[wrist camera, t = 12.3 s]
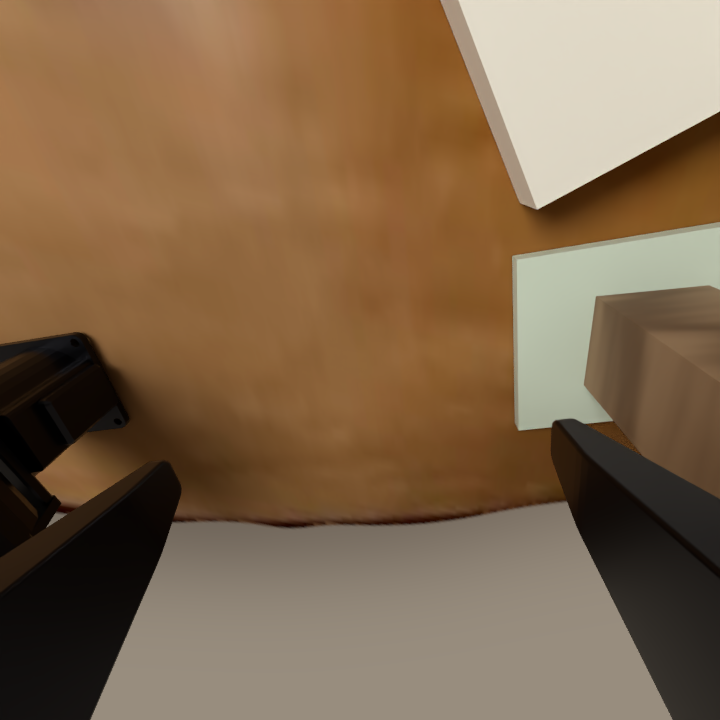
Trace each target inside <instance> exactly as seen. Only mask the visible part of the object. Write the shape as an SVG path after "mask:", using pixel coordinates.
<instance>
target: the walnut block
mask: <svg viewBox="0 0 720 720" xmlns="http://www.w3.org/2000/svg"><path fill="white" fill-rule="evenodd" d="M584 386H585V387H586V388H587V390H588V391H589V392H590V393H591V394H592V396H593V397H594V398H595V399H596V400H597V402H598V403H599V404H600V405H601V406H602V408H603V409H604V410H605V411H606V412H607V414H608V415H609V416H610V417H611V418H612V420H613V421H614V422H615V423H616V424H617V426H618V427H619V428H620V429H621V430H622V432H623V433H624V434H625V435H626V437H627V438H628V439H629V440H630V441H631V443H632V444H633V445H634V446H635V447H636V449H637V450H638V451H639V452H640V453H641V455H642V456H643V457H645V458H647V459H649V460H651V461H652V462H654V463H656V464H658V465H660V466H661V467H663V468H665V469H667V470H669V471H670V472H672V473H674V474H676V475H678V476H680V477H681V478H683V479H685V480H687V481H689V482H690V483H692V484H694V485H696V486H698V487H699V488H701V489H703V490H705V491H707V492H709V493H710V494H712V495H714V496H716V497H718V498H719V499H720V290H719V289H717V288H715V287H712V286H710V285H706V286H696V287H686V288H676V289H665V290H655V291H645V292H635V293H624V294H614V295H604V296H596V299H595V307H594V314H593V321H592V328H591V336H590V343H589V350H588V357H587V365H586V372H585V379H584Z"/></svg>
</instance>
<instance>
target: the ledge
mask: <svg viewBox="0 0 720 720" xmlns="http://www.w3.org/2000/svg"><path fill="white" fill-rule="evenodd" d="M440 1H441V3H442V6H443V8H444V11H445V13H446V16H447V19H448V21H449V24H450V26H451V29H452V31H453V34H454V36H455V39H456V41H457V44H458V47H459V49H460V52H461V54H462V57H463V59H464V62H465V64H466V67H467V70H468V72H469V75H470V77H471V80H472V82H473V85H474V87H475V90H476V93H477V95H478V98H479V100H480V103H481V105H482V108H483V110H484V113H485V116H486V118H487V121H488V123H489V126H490V128H491V131H492V133H493V136H494V138H495V141H496V144H497V146H498V149H499V151H500V154H501V156H502V159H503V161H504V164H505V167H506V169H507V172H508V174H509V177H510V179H511V182H512V184H513V187H514V190H515V192H516V195H517V197H518V200H519V202H520V203H521V204H524V205H526V206H529V207H532V208H534V209H537V210H538V209H540V208H541V207H543V206H545V205H547V204H549V203H551V202H553V201H554V200H556V199H558V198H560V197H562V196H564V195H566V194H567V193H569V192H571V191H573V190H575V189H577V188H579V187H580V186H582V185H584V184H586V183H588V182H590V181H591V180H593V179H595V178H597V177H599V176H601V175H603V174H604V173H606V172H608V171H610V170H612V169H614V168H616V167H617V166H619V165H621V164H623V163H625V162H627V161H629V160H630V159H632V158H634V157H636V156H638V155H640V154H642V153H643V152H645V151H647V150H649V149H651V148H653V147H655V146H656V145H658V144H660V143H662V142H664V141H666V140H668V139H669V138H671V137H673V136H675V135H677V134H679V133H681V132H682V131H684V130H686V129H688V128H690V127H692V126H694V125H695V124H697V123H699V122H701V121H703V120H705V119H707V118H708V117H710V116H712V115H714V114H716V113H718V112H720V0H440Z"/></svg>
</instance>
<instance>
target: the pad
mask: <svg viewBox="0 0 720 720" xmlns="http://www.w3.org/2000/svg"><path fill="white" fill-rule="evenodd" d="M512 272H513V336H514V399H515V424H516V426H517V428H518V430H529V429H538V428H548V427H552V423H553V421H555V420H559V419H568V418H573V419H576V420H578V421H580V422H582V423H584V424H587V423H597V422H607V421H613V420H612V418H611V417H610V416H609V415H608V414H607V412H606V411H605V410H604V409H603V408H602V406H601V405H600V404H599V403H598V402H597V400H596V399H595V398H594V397H593V396H592V394H591V393H590V392H589V391H588V390H587V388H586V387H585V386H584V379H585V372H586V365H587V357H588V350H589V343H590V336H591V328H592V321H593V314H594V307H595V299H596V296H604V295H614V294H624V293H635V292H645V291H655V290H665V289H676V288H686V287H696V286H706V285H710V286H712V287H715V288H717V289H719V290H720V222H718V223H712V224H705V225H699V226H693V227H687V228H681V229H675V230H668V231H662V232H656V233H650V234H644V235H638V236H632V237H625V238H619V239H613V240H607V241H601V242H595V243H589V244H582V245H576V246H570V247H564V248H558V249H552V250H546V251H539V252H533V253H527V254H521V255H515V256H512Z"/></svg>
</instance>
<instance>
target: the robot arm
mask: <svg viewBox="0 0 720 720" xmlns="http://www.w3.org/2000/svg"><path fill="white" fill-rule="evenodd" d="M75 340H77V341H78V342H79V343H77V342H76V341H75ZM119 419H120V420H121V421H120V420H119ZM128 422H129V417H128V415H127V413H126V411H125V409H124V407H123V406H122V404H121V402H120V400H119V398H118V396H117V394H116V392H115V390H114V389H113V387H112V385H111V383H110V381H109V379H108V377H107V375H106V374H105V372H104V370H103V368H102V366H101V364H100V362H99V360H98V359H97V357H96V355H95V353H94V351H93V349H92V347H91V345H90V343H89V342H88V340H87V338H86V337H85V336H84V335H83V334H81V333H79V332H74V333H68V334H62V335H55V336H49V337H43V338H37V339H30V340H24V341H18V342H12V343H5V344H0V720H90V719H91V717H92V715H93V712H94V710H95V708H96V705H97V703H98V701H99V699H100V696H101V694H102V692H103V689H104V687H105V684H106V682H107V680H108V677H109V675H110V673H111V671H112V668H113V666H114V664H115V661H116V659H117V657H118V654H119V652H120V650H121V647H122V645H123V643H124V641H125V638H126V636H127V633H128V631H129V629H130V626H131V624H132V622H133V620H134V617H135V615H136V613H137V610H138V608H139V606H140V603H141V601H142V599H143V596H144V594H145V592H146V589H147V587H148V585H149V582H150V580H151V578H152V575H153V573H154V571H155V569H156V566H157V564H158V561H159V559H160V557H161V554H162V551H163V548H164V546H165V542H166V539H167V536H168V533H169V530H170V527H171V524H172V521H173V518H174V515H175V512H176V509H177V506H178V502H179V499H180V496H181V484H180V482H179V480H178V478H177V476H176V474H175V472H174V470H173V468H172V466H171V464H170V463H169V462H168V461H166V460H159V461H151V462H149V463H147V464H145V465H144V466H142V467H141V468H139V469H137V470H136V471H134V472H133V473H131V474H130V475H128V476H127V477H125V478H123V479H122V480H120V481H119V482H117V483H116V484H114V485H113V486H111V487H109V488H108V489H106V490H105V491H103V492H102V493H100V494H99V495H97V496H95V497H94V498H92V499H91V500H89V501H88V502H86V503H84V504H83V505H81V506H80V507H78V508H77V509H75V510H74V511H72V512H70V513H69V514H67V515H66V516H64V517H63V518H61V519H60V520H58V521H57V522H55V523H53V524H52V525H50V526H49V527H47V525H48V524H49V522H50V521H51V519H52V517H53V516H54V514H55V513H56V511H57V509H58V508H59V506H60V505H61V502H60V501H59V500H58V499H57V498H56V496H55V495H53V496H52V495H51V494H50V493H49V492H48V491H47V490H46V488H45V487H44V486H43V485H42V484H41V483H40V482H39V481H38V480H37V478H36V477H35V476H36V475H37V474H38V473H39V472H41V471H43V470H44V469H45V468H46V467H47V466H49V465H50V464H51V463H52V462H53V461H54V460H55V459H56V458H57V457H58V456H60V455H61V454H62V453H63V452H64V451H65V450H66V449H67V448H68V447H69V446H71V445H72V444H74V443H75V442H76V441H77V440H78V439H79V438H81V437H82V436H83V435H84V434H85V433H86V432H91V431H100V430H108V429H116V428H123V427H124V426H125V425H126V424H127V423H128ZM551 456H552V460H553V463H554V466H555V469H556V472H557V474H558V477H559V480H560V483H561V485H562V488H563V491H564V494H565V497H566V499H567V502H568V505H569V508H570V510H571V513H572V516H573V518H574V521H575V524H576V526H577V528H578V530H579V533H580V535H581V537H582V539H583V541H584V543H585V545H586V547H587V549H588V551H589V553H590V555H591V557H592V559H593V561H594V563H595V565H596V567H597V569H598V571H599V573H600V575H601V577H602V579H603V581H604V583H605V585H606V587H607V589H608V591H609V593H610V595H611V597H612V599H613V601H614V603H615V605H616V607H617V609H618V611H619V613H620V615H621V617H622V619H623V621H624V623H625V625H626V627H627V629H628V631H629V633H630V635H631V637H632V639H633V641H634V643H635V645H636V647H637V649H638V651H639V653H640V655H641V657H642V659H643V661H644V663H645V665H646V667H647V669H648V671H649V673H650V675H651V677H652V679H653V681H654V683H655V685H656V687H657V689H658V691H659V693H660V695H661V697H662V699H663V701H664V703H665V705H666V707H667V709H668V711H669V713H670V715H671V717H672V719H673V720H720V499H719V498H718V497H716V496H714V495H712V494H710V493H709V492H707V491H705V490H703V489H701V488H699V487H698V486H696V485H694V484H692V483H690V482H689V481H687V480H685V479H683V478H681V477H680V476H678V475H676V474H674V473H672V472H670V471H669V470H667V469H665V468H663V467H661V466H660V465H658V464H656V463H654V462H652V461H651V460H649V459H647V458H645V457H643V456H642V455H640V454H638V453H636V452H634V451H632V450H631V449H629V448H627V447H625V446H623V445H622V444H620V443H618V442H616V441H614V440H613V439H611V438H609V437H607V436H605V435H603V434H602V433H600V432H598V431H596V430H594V429H593V428H591V427H589V426H587V425H585V424H584V423H582V422H580V421H578V420H576V419H573V418H568V419H559V420H555V421H553V423H552V431H551ZM46 527H47V528H46Z"/></svg>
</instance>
